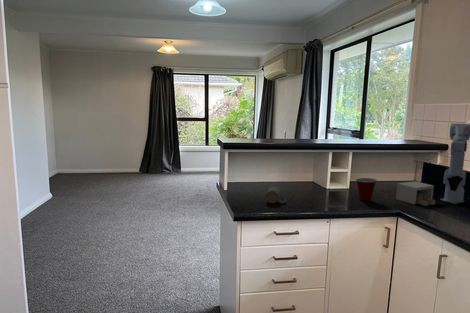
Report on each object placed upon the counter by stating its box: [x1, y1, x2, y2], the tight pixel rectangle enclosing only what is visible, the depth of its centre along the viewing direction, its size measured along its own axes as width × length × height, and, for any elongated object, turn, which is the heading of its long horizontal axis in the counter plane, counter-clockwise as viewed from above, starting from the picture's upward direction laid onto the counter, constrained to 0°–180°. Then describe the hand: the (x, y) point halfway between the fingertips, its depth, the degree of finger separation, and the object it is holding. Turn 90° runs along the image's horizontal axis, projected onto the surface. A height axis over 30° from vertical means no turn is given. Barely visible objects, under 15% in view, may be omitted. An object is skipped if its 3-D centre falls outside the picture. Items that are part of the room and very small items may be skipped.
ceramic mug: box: [265, 186, 287, 205], centre depth 169 cm, size 11×8×8 cm
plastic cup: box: [355, 177, 378, 203], centre depth 176 cm, size 11×11×12 cm
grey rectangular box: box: [395, 181, 435, 205], centre depth 178 cm, size 15×11×9 cm
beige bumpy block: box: [416, 191, 436, 207], centre depth 175 cm, size 8×10×6 cm
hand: (453, 190), depth 164 cm, fingers closed
